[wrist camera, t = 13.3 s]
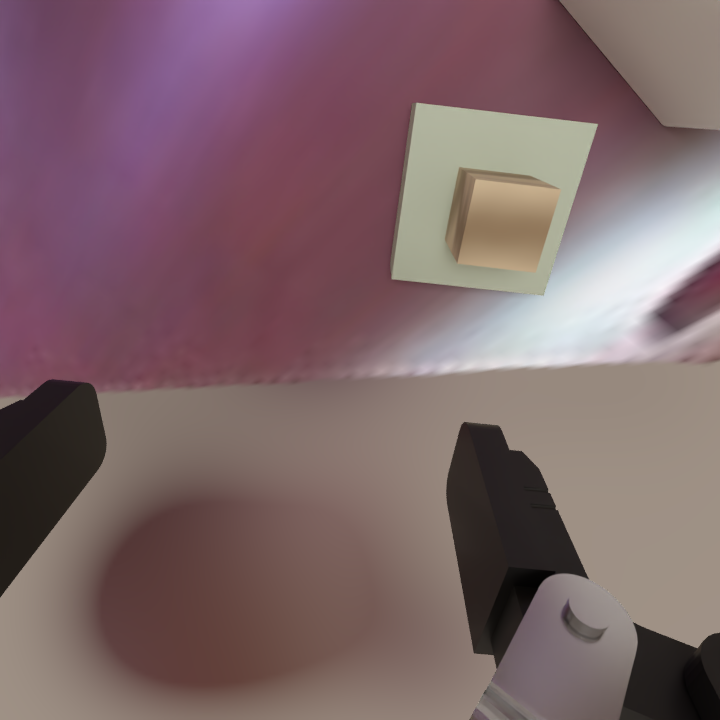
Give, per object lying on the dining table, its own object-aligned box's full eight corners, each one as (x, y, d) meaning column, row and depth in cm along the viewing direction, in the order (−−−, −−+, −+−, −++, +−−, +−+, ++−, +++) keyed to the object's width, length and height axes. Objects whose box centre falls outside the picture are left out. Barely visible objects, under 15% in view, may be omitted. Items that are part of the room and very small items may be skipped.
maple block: (458, 166, 31) (475, 179, 26) (530, 175, 32) (561, 189, 26) (444, 239, 34) (457, 263, 29) (510, 247, 34) (535, 272, 29)
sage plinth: (412, 103, 33) (416, 102, 30) (574, 122, 33) (597, 124, 30) (390, 263, 39) (391, 279, 35) (528, 278, 39) (543, 295, 36)
